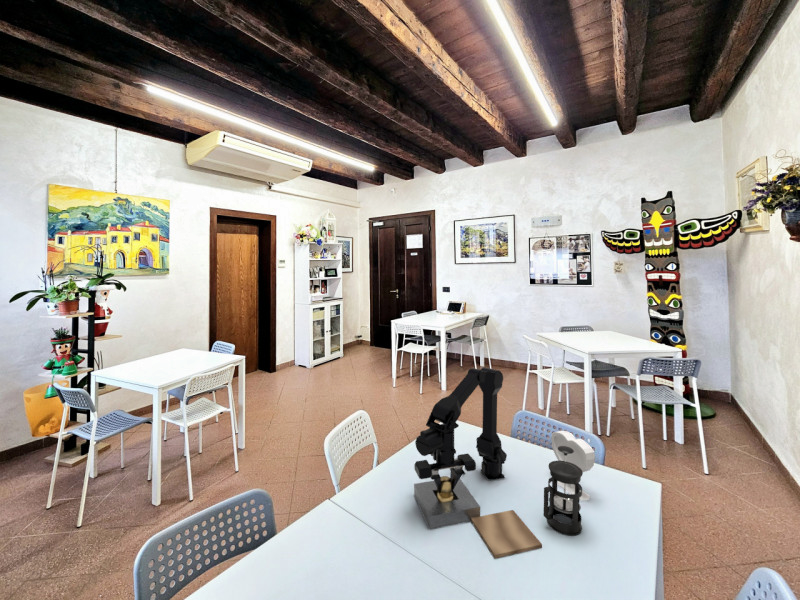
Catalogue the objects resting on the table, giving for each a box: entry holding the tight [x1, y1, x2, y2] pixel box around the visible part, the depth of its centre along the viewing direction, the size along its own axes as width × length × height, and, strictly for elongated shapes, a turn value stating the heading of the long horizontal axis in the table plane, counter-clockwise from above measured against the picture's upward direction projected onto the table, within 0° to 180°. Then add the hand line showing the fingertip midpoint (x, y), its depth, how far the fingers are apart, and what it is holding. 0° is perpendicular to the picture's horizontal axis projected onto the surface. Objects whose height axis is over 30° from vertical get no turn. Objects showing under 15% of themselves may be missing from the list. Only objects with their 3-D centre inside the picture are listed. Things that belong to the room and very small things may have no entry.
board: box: [470, 509, 543, 559], centre depth 98 cm, size 14×14×1 cm
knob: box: [437, 475, 453, 503], centre depth 109 cm, size 5×5×9 cm
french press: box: [542, 446, 584, 537], centre depth 100 cm, size 12×9×23 cm
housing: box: [413, 478, 481, 530], centre depth 109 cm, size 16×16×4 cm
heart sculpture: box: [550, 430, 596, 501], centre depth 117 cm, size 16×5×18 cm, turn 17°
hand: (445, 491), depth 109 cm, fingers closed on knob, 4 cm apart
